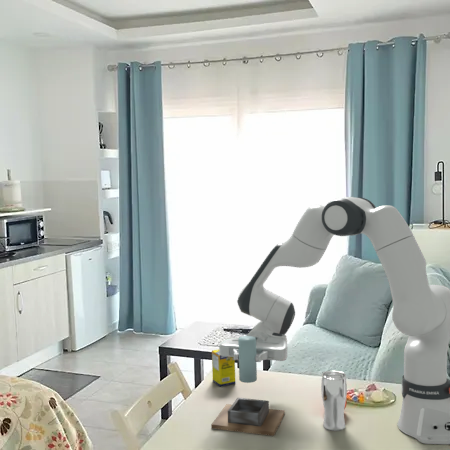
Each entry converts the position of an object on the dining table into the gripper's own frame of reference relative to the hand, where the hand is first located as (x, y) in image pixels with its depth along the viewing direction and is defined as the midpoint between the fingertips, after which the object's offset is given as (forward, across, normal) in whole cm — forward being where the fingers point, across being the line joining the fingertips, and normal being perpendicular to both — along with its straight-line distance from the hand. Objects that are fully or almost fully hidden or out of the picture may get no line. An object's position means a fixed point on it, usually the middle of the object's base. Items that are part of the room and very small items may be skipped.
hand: (246, 358), depth 164 cm
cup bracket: (-1, 0, +19) cm, 19 cm away
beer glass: (-4, +24, +19) cm, 31 cm away
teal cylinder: (-1, 0, +6) cm, 7 cm away
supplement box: (-27, -16, +19) cm, 37 cm away
